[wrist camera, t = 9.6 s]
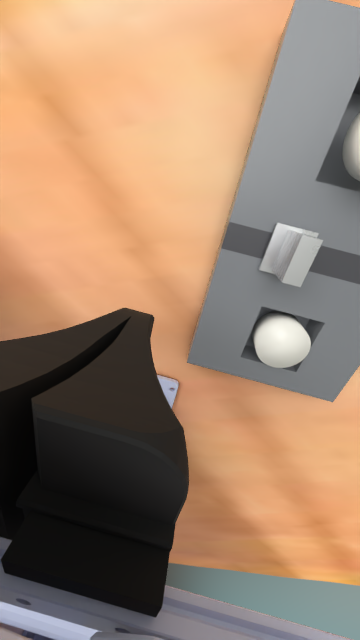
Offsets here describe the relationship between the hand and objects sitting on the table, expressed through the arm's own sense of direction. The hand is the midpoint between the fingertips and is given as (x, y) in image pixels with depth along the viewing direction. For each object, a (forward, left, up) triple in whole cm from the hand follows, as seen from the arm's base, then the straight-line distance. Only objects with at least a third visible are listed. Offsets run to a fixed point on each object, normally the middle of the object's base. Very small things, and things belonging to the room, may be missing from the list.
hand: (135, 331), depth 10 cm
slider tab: (+4, -7, -7) cm, 10 cm away
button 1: (-2, -9, -8) cm, 12 cm away
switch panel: (+4, -9, -9) cm, 14 cm away
